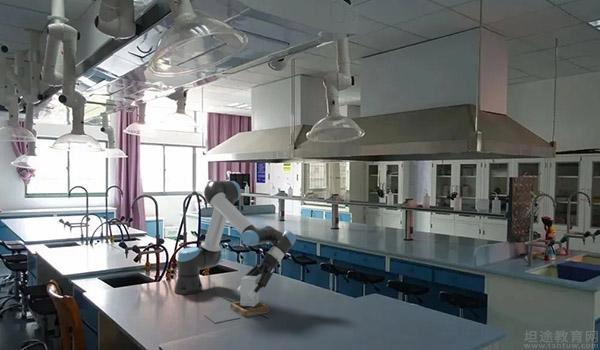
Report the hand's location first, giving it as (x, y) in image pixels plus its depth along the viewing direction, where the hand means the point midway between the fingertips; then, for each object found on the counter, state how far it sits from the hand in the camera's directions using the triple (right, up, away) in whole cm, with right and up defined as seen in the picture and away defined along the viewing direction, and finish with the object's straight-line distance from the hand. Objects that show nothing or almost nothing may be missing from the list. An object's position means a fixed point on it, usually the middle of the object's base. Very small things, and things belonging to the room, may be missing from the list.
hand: (244, 294), depth 195 cm
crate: (+2, -8, +2) cm, 9 cm away
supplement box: (+2, -5, +2) cm, 6 cm away
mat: (-9, -8, -8) cm, 15 cm away
